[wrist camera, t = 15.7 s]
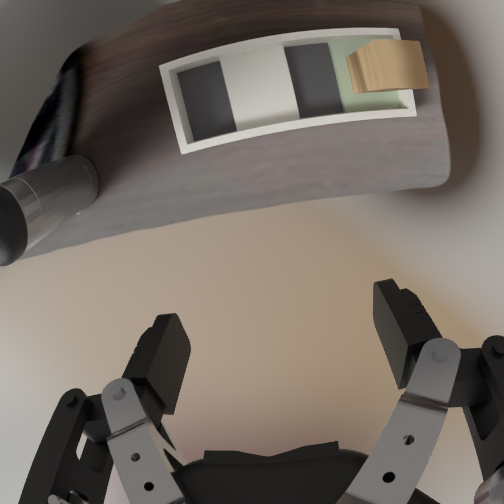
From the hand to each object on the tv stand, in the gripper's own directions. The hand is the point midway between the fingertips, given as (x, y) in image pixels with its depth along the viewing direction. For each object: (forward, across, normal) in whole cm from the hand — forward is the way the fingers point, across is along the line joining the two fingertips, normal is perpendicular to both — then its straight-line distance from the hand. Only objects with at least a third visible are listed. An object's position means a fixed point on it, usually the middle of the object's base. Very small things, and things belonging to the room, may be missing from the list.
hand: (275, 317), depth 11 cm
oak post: (+29, -15, -11) cm, 34 cm away
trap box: (+30, -5, -11) cm, 32 cm away
